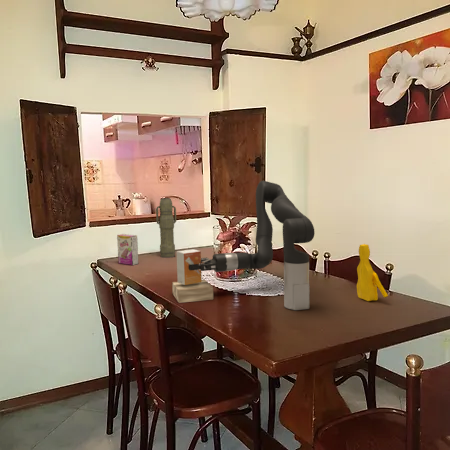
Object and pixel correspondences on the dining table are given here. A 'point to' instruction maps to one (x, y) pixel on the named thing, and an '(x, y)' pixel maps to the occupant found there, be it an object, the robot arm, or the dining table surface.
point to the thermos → (166, 227)
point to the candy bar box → (127, 249)
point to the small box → (183, 264)
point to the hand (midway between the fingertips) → (186, 265)
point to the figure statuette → (367, 277)
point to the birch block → (192, 291)
